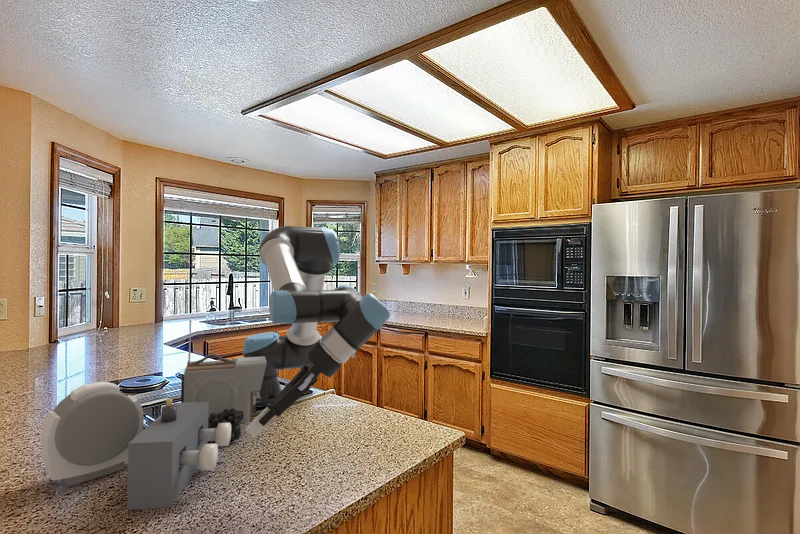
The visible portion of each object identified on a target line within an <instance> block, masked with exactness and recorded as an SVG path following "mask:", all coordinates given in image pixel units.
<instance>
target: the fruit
mask: <svg viewBox="0 0 800 534" xmlns="http://www.w3.org/2000/svg"><path fill="white" fill-rule="evenodd" d="M242 420H243V412H242V411H237V410H235V409H234V408H231V409H230V410H229V409H224V410H223V412H220V413H219V414H218V415H217V414H216V413H211V414H210V418H208V429H211V428H217V426H218V424H219V423H231V439H230V441H234V440H238V439H240V437H241V434H242V429H241V425H242V424H243V425H245V424H246V423H243V422H241V421H242ZM213 442H215V441H208V444H212V443H213Z"/></svg>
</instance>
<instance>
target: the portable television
mask: <svg viewBox="0 0 800 534" xmlns="http://www.w3.org/2000/svg"><path fill="white" fill-rule="evenodd" d="M191 334H192V320H191V319H190V320H189V341H188V357H187V358H188V360H187V365H186V367H185V369H184V372H183V375H180V376H179V378H180V379H179V380H181V384H180V385H181V387H180V388H181V390H180V391H181V392H180V403H186V402H209V405H208V418H210V414H211V413H216V414H217V415H218V414H219V413H220V412H223V410H224V409H229V410H230V409H231V408H234V409H235V410H237V411H242V412H243V420H242V421H241V422H243V423H245V424H248V423H249V424H250V423H251V422H252V421H253V414H254V415H255V414H257V408H256V407H255V404H256V402H260V399H261V397H260V392H257V391H260V390H261V386H262V381H263V377H264V373H265V369H266V364H267V361H266V358H265V356H262V357H244V358H243V357H235V358H232V359H231V358H230V359H228V358H225V357H224V358H223V357H222V356H220V355H218V354H215V353H211V354H208V355H206V356H204V357H203V358H201V359H199V360H195V361H191V342H192V341H191V336H192V335H191ZM210 358H216V359H218V360H213V361H210V360H209V361H205V360H207V359H210ZM255 392H256V394H255Z"/></svg>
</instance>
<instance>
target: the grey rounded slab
mask: <svg viewBox="0 0 800 534" xmlns="http://www.w3.org/2000/svg"><path fill="white" fill-rule="evenodd" d="M142 406H143V405H142V404H141V403H140V400H139V399H137V398H135V397H134V396H132V395H130V394H128V395H125V394H124V393H122V392H120V386H119V385H117V384H116V383H113V382H109V381H99V382H91V383H87V384H82V385H81V386H79V387H77V388H74V389H73V390H71V392H70V393H69V394H68V395H67V396H65V397H64V398H63V399H62V400H61V401H59V402H58V404H57V405H56V406H55V407H54V408H53V410H52V411H51V410H48V412H47V414H46V415H45V417H44V419H43V422H42V426H41V433H40V440H41V441H40V445H41V446H40V447H41V454H42V461H43V465H44V469H45V472H46V474H47V475H48V476H49V478H50V479H51V481H58V480H63V481H64V483H65V484H66V485H67V486H68V487H71V486H74V485H77V484H82V483H85V482H87V481H91V480H94V479H96V478H100V477H103V476H106V475H109V474H113V473H117V472H119V471H122V470H125V469H126V461H128V443H129V442H130V441H132V440H133V439H134V438H135V437H136V436H137V435H138V434H140V433H141V432H142V431H143V430H144V419H145V417H144V410H143V407H142Z"/></svg>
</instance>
